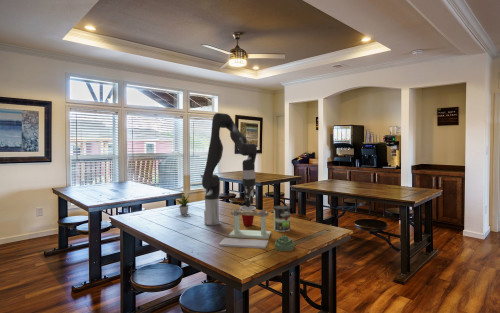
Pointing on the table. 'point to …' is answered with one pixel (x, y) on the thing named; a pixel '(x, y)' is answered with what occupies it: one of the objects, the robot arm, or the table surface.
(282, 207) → the coffee can
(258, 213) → the rail
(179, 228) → the table surface
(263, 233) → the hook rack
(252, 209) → the plastic cup
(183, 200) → the house plant
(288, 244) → the decorative artifact
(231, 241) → the mat
